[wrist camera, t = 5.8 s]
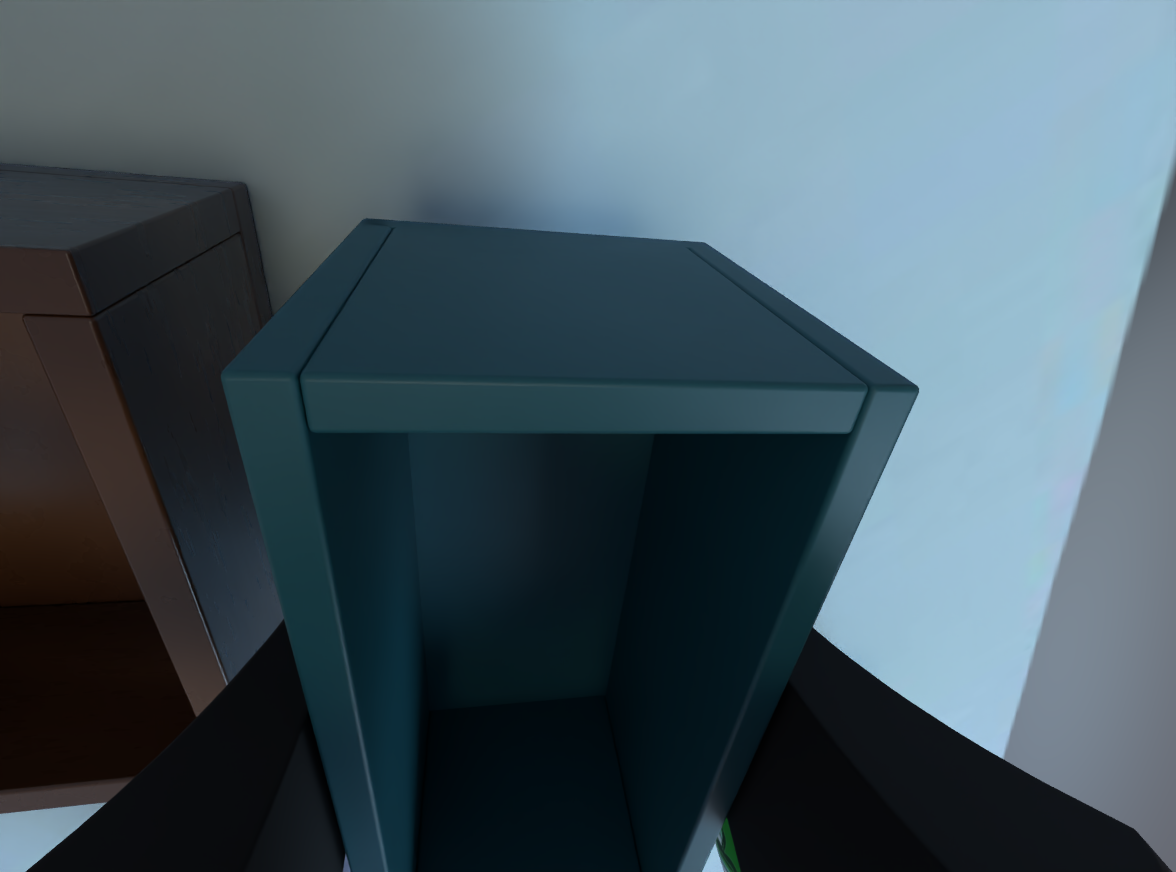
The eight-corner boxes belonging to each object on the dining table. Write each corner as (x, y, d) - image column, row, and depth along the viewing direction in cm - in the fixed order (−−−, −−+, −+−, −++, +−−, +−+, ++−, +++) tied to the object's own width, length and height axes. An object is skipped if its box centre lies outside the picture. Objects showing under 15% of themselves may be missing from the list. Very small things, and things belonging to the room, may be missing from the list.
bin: (617, 684, 16) (674, 936, 11) (412, 702, 14) (379, 988, 10) (706, 241, 9) (923, 387, 5) (362, 217, 8) (215, 373, 4)
